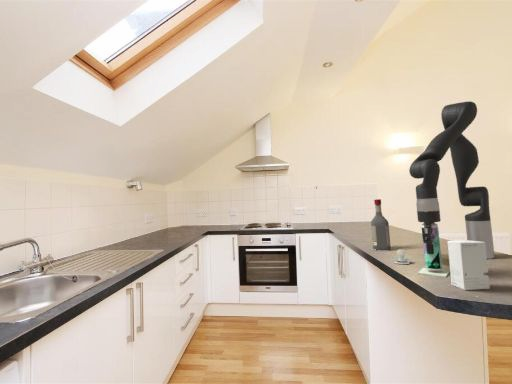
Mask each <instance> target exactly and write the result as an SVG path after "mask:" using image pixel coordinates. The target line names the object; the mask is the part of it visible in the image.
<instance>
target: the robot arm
mask: <svg viewBox="0 0 512 384" xmlns="http://www.w3.org/2000/svg"><path fill="white" fill-rule="evenodd" d="M477 107H478V106H477V104H476V103H475V102H473V101H471V100H470V101H461V102H456V103H450V104H447V105H445V106H444V107H443V108H442V109H441V114H440V115H441V117H440V118H441V121H442V125H443V129H444V130H443V131H441V132H440V133H438V134H437V135H435V137H433V139H432V140H431V141H430V142H429V144H428V145H427V146H426V148H425V150H423V152H422V153H421V154H419V156H418V157H417V158H416V159H414V160H413V161H412V162H411V164H410V167H409V175H410V176H411V177H412V178H413V179H422V182H421V183H420V184H418V185H417V184H416V186H415V195H416V204H415V205H416V213H417V214H416V216H417V221H418V222H419V223H424V228H422V227H421V233H422V232H423V237H422V239H423V238H424V243H425V244H426V248H427V254H434V247H433V244H434V243H433V239H434V238H435V236H434V231H435V229H434V231H433V232H432V223H433V222H434V223H439V222H441V212H440V202H439V198H438V190H437V187H438V183H439V177H440V175H441V174H440V173H441V167H440V164H439V163H438V162H440V161H442V160H443V159H444V157H445V155H446V154H447V152H448V151H449V149H450V156H451V160H452V166H453V170H454V174H455V178H456V186H457V195H458V199H459V203H460V205H461V206H462V207H479V209H477V210H475V211H473V212H470V213H467V214H465V215H464V221H465V222H464V223H465V232H466V233H465V234H466V239H467V240H472V241H480V242H485V245H486V255H487V259H491V260H492V259H495V258H496V255H495V246H494V237H493V229H492V220H491V214H490V213H491V212H490V199H489V198H490V197H489V196H490V195H489V190H488V188H487V187H486V186H469V187H467V183H468V181H469V179H471V176H472V174H473V173H474V172H475V171H476V169H477V167H478V165H479V163H480V161H479V155H478V154H479V153H478V148H477V147H476V146H475V145H474V143H472V141H470V140H469V139H468V138H467V137H466V136H465V135H464V134H463V132H465V131H466V129H468V128H469V126H470V125H471V124H472V123H473V122H474V121H475V119H476V117H477V114H478V108H477ZM431 234H432V236H431ZM427 238H430V240H427Z"/></svg>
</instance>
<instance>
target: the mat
mask: <svg viewBox="0 0 512 384" xmlns="http://www.w3.org/2000/svg"><path fill="white" fill-rule="evenodd" d="M417 274H419V275H428V276H433V277H443V278H447V277H448V275H449V274H450V271H449V270H441V271H432V270H427V269H426V267H422V268H421V269H419V271H418V272H417Z"/></svg>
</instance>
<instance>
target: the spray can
mask: <svg viewBox="0 0 512 384" xmlns="http://www.w3.org/2000/svg"><path fill="white" fill-rule="evenodd" d="M422 228H424V222H422V224H421V229H422ZM434 229H435V231H434ZM433 231H434V236H435V238H434V239H433V243H434V244H433V247H434V254H427V248H426V244H425V243H424V238H423V232H422V231H421V233H422V234H421V236H422V246H423V254H424V255H423V256H424V266H425V267H424V268H426V269H427V270H432V271H441V270H442V260H441V253H442V252H441V244H440V243H441V241H440V234H439V233H440V232H439V225H438V223H437V222H433V223H432V232H433ZM431 236H432V234H431ZM427 240H430V238H427Z"/></svg>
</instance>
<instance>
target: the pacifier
mask: <svg viewBox="0 0 512 384" xmlns="http://www.w3.org/2000/svg"><path fill="white" fill-rule="evenodd" d="M396 254H397V256H398V258H395V257H392V259H393V260H394V264H397V265H409V264H411V262H410V260H411V257H407V258H405V251H404V250H403V249H402V248H401V249H400V248H399V249H398V250H397V252H396Z"/></svg>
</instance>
